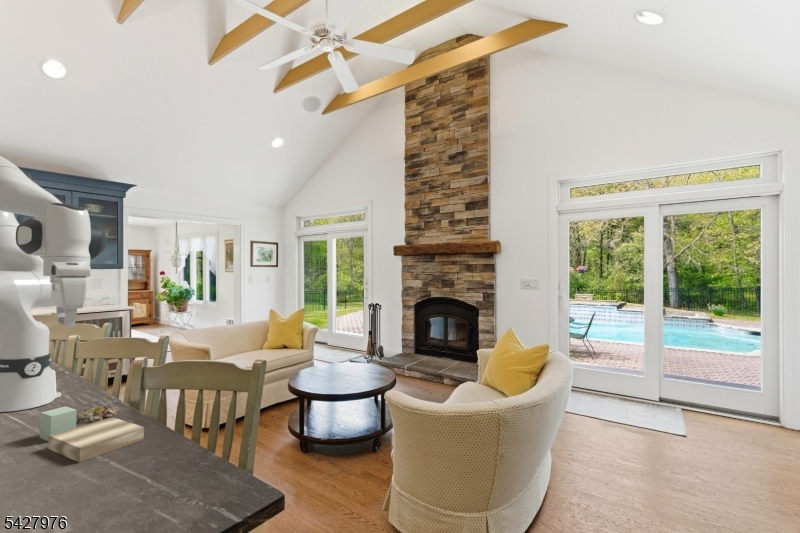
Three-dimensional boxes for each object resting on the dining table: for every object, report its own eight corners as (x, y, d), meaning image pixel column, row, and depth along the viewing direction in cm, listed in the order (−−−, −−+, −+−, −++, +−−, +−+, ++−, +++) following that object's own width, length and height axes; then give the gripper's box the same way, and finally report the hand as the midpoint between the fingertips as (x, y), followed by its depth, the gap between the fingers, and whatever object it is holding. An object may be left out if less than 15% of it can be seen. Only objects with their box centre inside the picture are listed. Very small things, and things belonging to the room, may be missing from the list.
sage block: (39, 437, 94) (40, 412, 94) (65, 430, 98) (66, 406, 98) (50, 442, 91) (51, 416, 92) (75, 434, 96) (76, 409, 96)
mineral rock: (115, 402, 113) (120, 401, 108) (115, 418, 112) (121, 418, 107) (66, 412, 106) (68, 412, 100) (66, 429, 105) (69, 429, 99)
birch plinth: (48, 449, 88) (48, 435, 88) (112, 429, 100) (112, 417, 100) (79, 462, 82) (80, 448, 82) (143, 439, 94) (144, 427, 94)
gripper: (43, 269, 102) (42, 323, 101) (57, 268, 88) (55, 330, 88) (75, 269, 106) (74, 321, 106) (92, 268, 93) (91, 328, 92)
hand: (65, 325), depth 97 cm, fingers open, 8 cm apart
